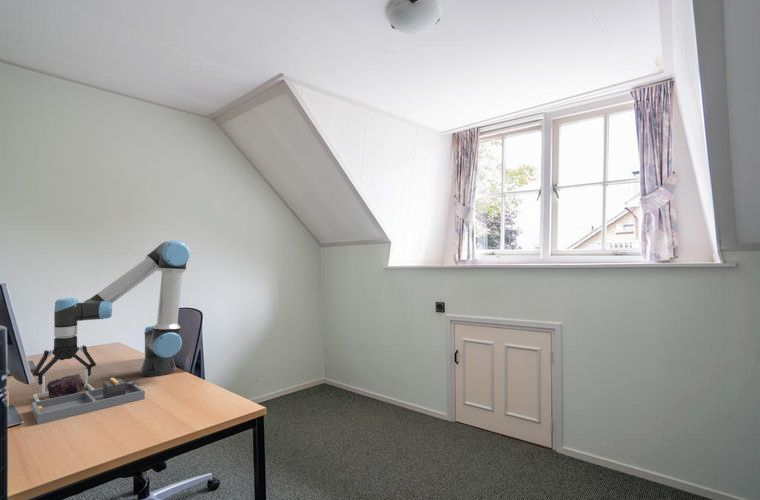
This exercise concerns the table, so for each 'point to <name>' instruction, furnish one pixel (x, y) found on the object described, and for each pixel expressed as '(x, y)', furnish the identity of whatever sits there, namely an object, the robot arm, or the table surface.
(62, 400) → the holder
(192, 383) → the table surface
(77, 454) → the table surface
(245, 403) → the table surface
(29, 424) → the table surface
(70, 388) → the rock
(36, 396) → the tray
